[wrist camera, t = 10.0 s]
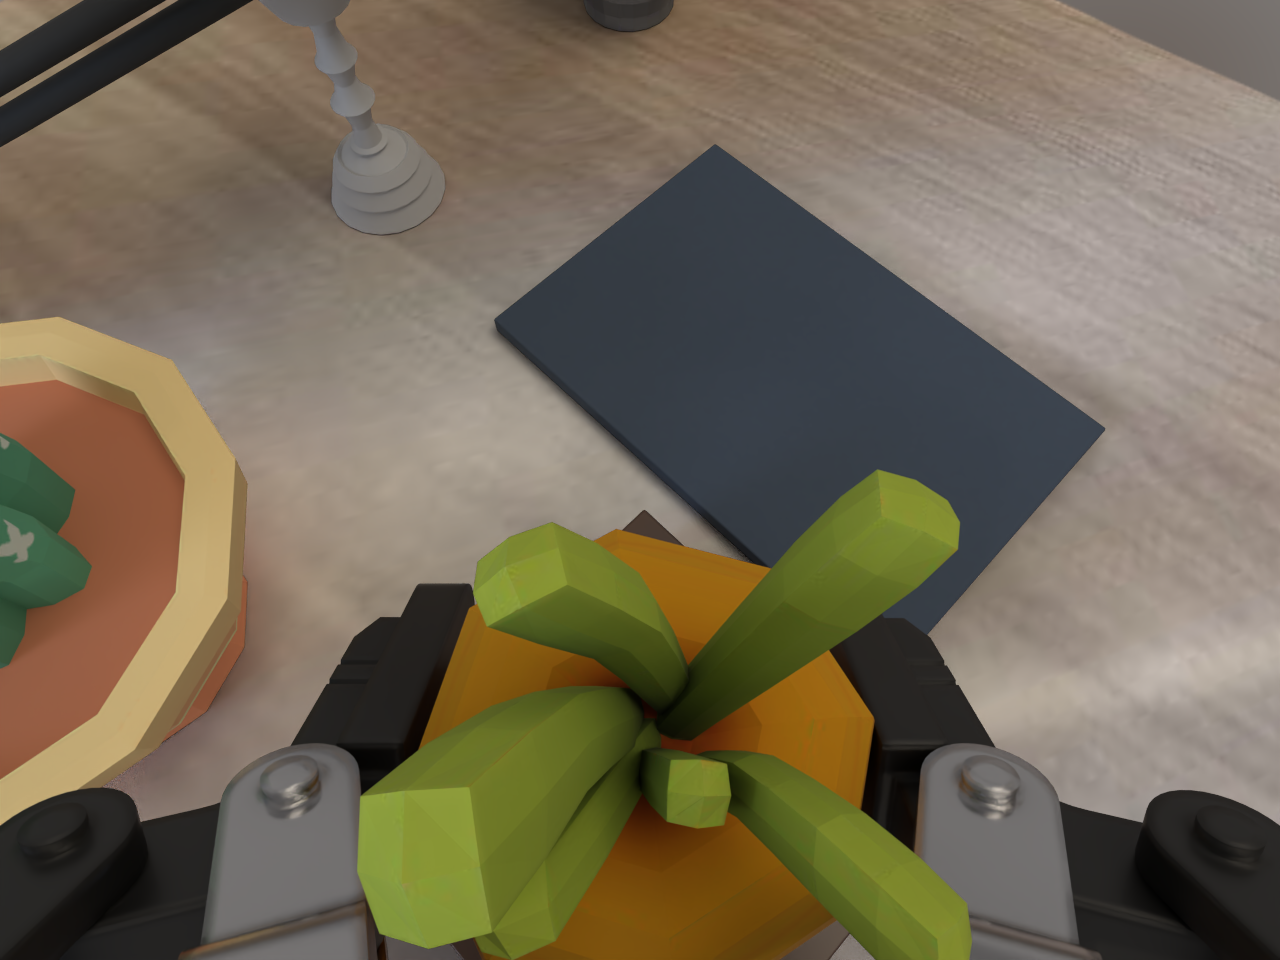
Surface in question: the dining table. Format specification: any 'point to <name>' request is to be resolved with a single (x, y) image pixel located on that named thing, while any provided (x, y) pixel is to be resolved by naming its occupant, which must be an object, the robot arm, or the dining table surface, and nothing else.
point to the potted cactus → (107, 558)
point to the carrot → (663, 753)
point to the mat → (791, 374)
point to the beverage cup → (628, 13)
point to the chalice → (366, 136)
